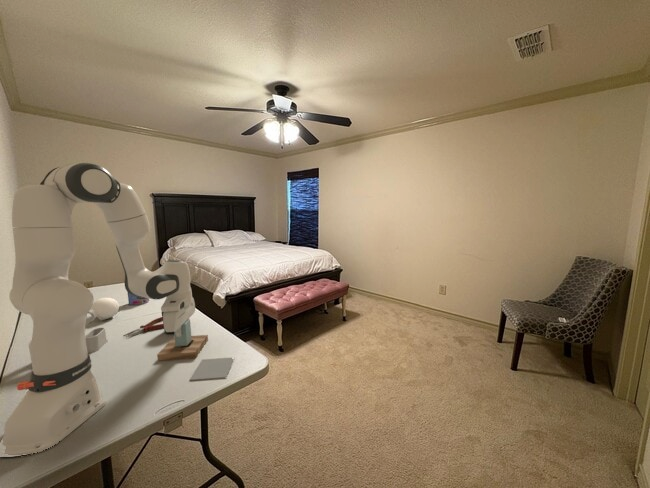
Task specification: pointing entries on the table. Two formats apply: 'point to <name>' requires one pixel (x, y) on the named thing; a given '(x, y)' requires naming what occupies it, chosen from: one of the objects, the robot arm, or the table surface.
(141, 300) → the ink cartridge box
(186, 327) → the square plug
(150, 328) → the pliers
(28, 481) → the table surface
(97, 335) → the phone holder
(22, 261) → the robot arm
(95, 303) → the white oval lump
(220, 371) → the rubber mat
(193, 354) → the plug dock
